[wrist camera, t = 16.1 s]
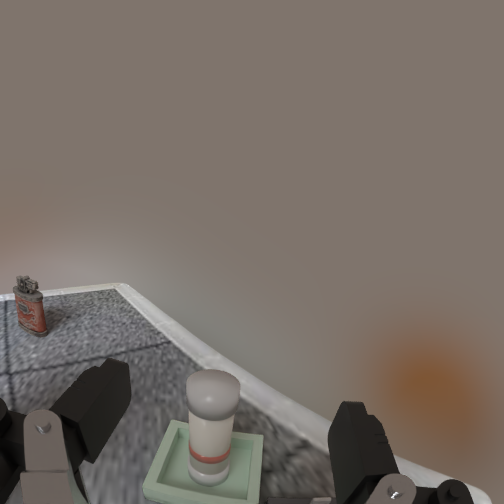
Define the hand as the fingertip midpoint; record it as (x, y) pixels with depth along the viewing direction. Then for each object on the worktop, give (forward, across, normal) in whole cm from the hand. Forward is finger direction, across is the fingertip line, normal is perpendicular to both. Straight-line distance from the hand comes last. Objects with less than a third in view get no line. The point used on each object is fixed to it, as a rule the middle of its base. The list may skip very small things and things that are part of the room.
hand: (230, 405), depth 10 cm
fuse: (+9, +1, +19) cm, 21 cm away
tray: (+9, +1, +20) cm, 22 cm away
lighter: (+26, +38, +22) cm, 51 cm away
